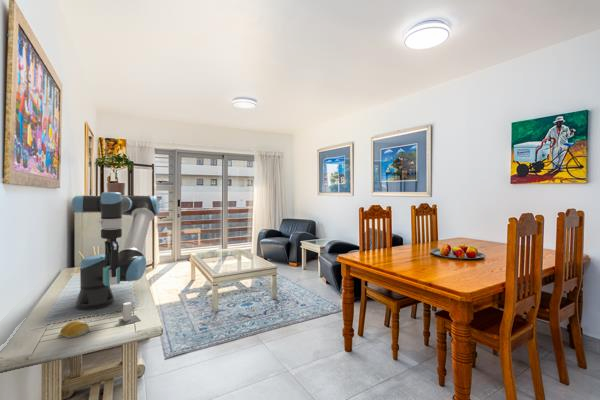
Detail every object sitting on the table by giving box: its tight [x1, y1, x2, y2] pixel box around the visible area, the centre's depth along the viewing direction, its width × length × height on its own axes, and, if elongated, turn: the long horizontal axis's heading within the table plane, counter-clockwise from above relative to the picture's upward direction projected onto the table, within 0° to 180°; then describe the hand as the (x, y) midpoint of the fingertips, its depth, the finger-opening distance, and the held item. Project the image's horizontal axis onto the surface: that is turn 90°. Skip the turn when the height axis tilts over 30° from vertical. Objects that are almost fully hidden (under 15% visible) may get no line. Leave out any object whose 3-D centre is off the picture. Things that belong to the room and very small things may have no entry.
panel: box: [118, 315, 141, 326], centre depth 126 cm, size 7×6×1 cm
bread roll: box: [59, 320, 90, 339], centre depth 114 cm, size 8×9×4 cm
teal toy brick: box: [103, 267, 121, 286], centre depth 128 cm, size 5×5×7 cm
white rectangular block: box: [122, 301, 133, 321], centre depth 126 cm, size 3×3×7 cm
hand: (111, 282), depth 128 cm, fingers closed on teal toy brick, 5 cm apart
